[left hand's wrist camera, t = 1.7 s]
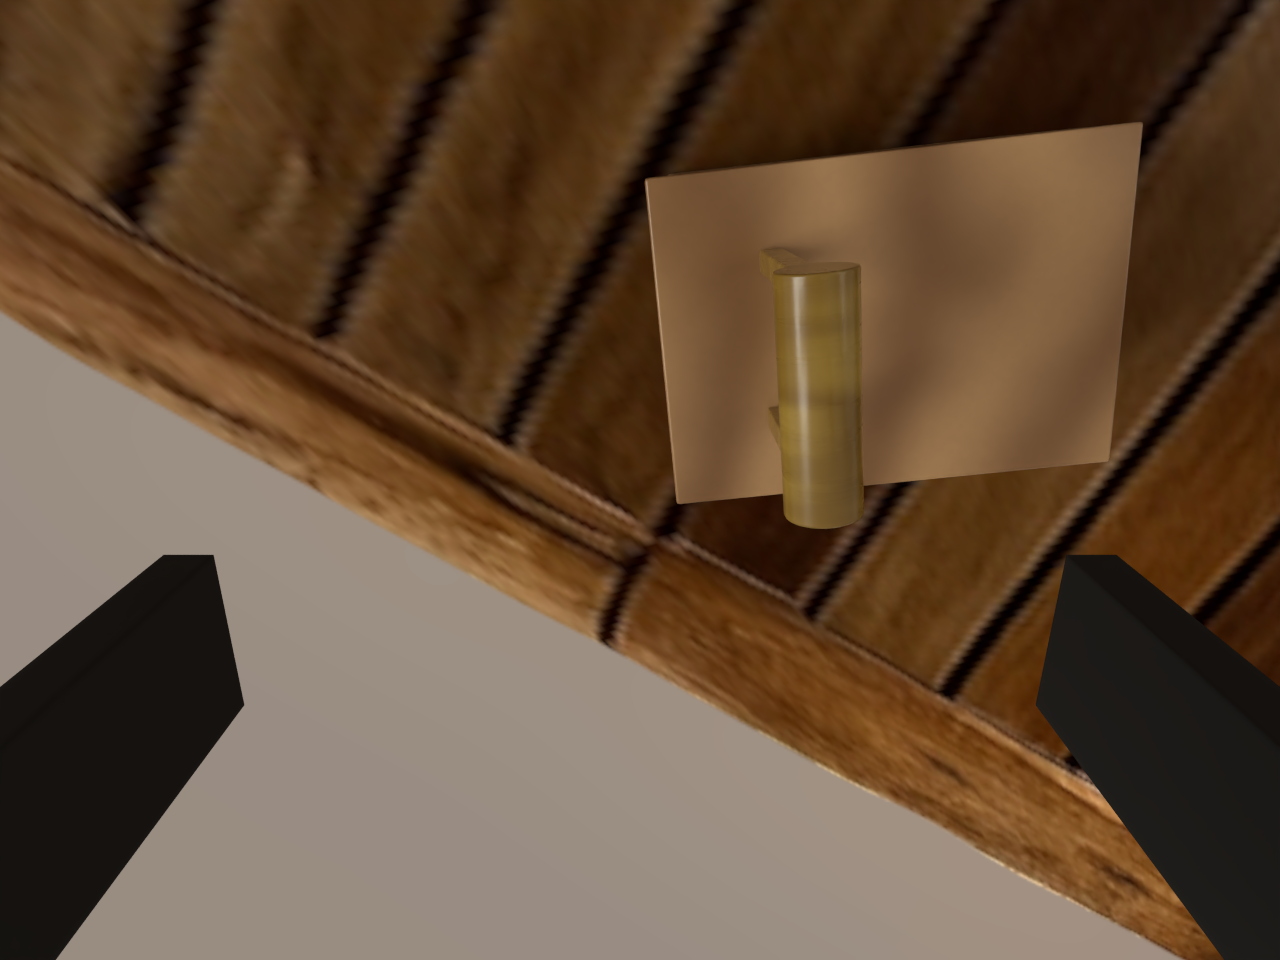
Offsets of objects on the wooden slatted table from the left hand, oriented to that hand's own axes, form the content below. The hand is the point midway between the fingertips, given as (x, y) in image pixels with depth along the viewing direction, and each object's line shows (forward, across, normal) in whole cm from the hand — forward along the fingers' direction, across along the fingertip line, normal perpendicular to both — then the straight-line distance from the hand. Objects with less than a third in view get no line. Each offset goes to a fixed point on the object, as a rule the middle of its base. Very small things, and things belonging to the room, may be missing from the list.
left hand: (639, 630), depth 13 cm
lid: (+14, +8, +2) cm, 17 cm away
